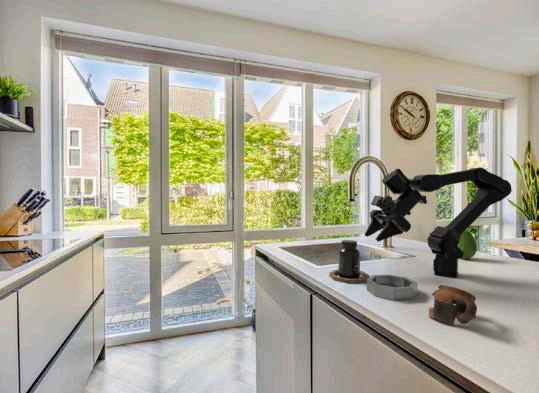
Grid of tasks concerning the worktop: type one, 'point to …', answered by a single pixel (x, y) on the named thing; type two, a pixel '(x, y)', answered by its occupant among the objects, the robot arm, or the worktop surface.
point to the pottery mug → (446, 308)
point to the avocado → (467, 245)
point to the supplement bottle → (349, 260)
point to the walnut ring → (345, 280)
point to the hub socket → (400, 291)
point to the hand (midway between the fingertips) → (370, 238)
